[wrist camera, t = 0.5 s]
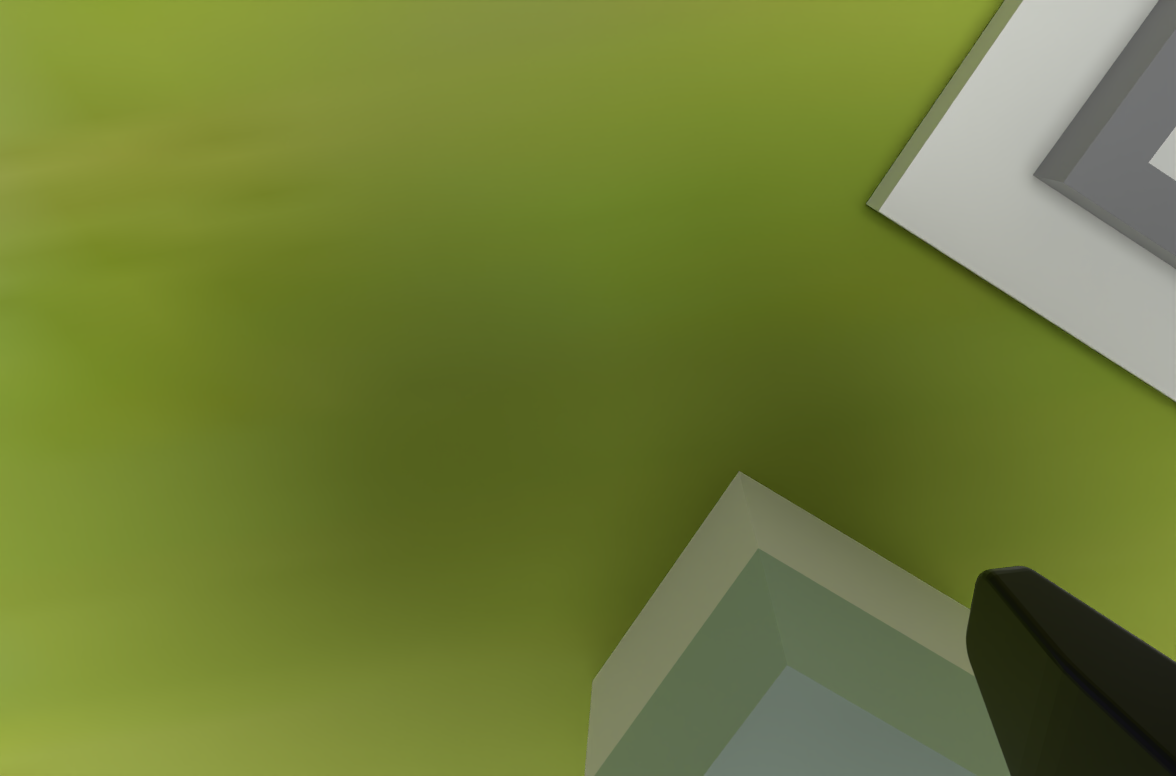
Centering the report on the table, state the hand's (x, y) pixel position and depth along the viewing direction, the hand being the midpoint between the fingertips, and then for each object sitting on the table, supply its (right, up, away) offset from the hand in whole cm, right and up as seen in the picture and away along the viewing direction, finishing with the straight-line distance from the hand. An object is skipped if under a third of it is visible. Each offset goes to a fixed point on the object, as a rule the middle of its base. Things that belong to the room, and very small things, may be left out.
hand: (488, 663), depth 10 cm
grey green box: (+5, -3, +15) cm, 16 cm away
